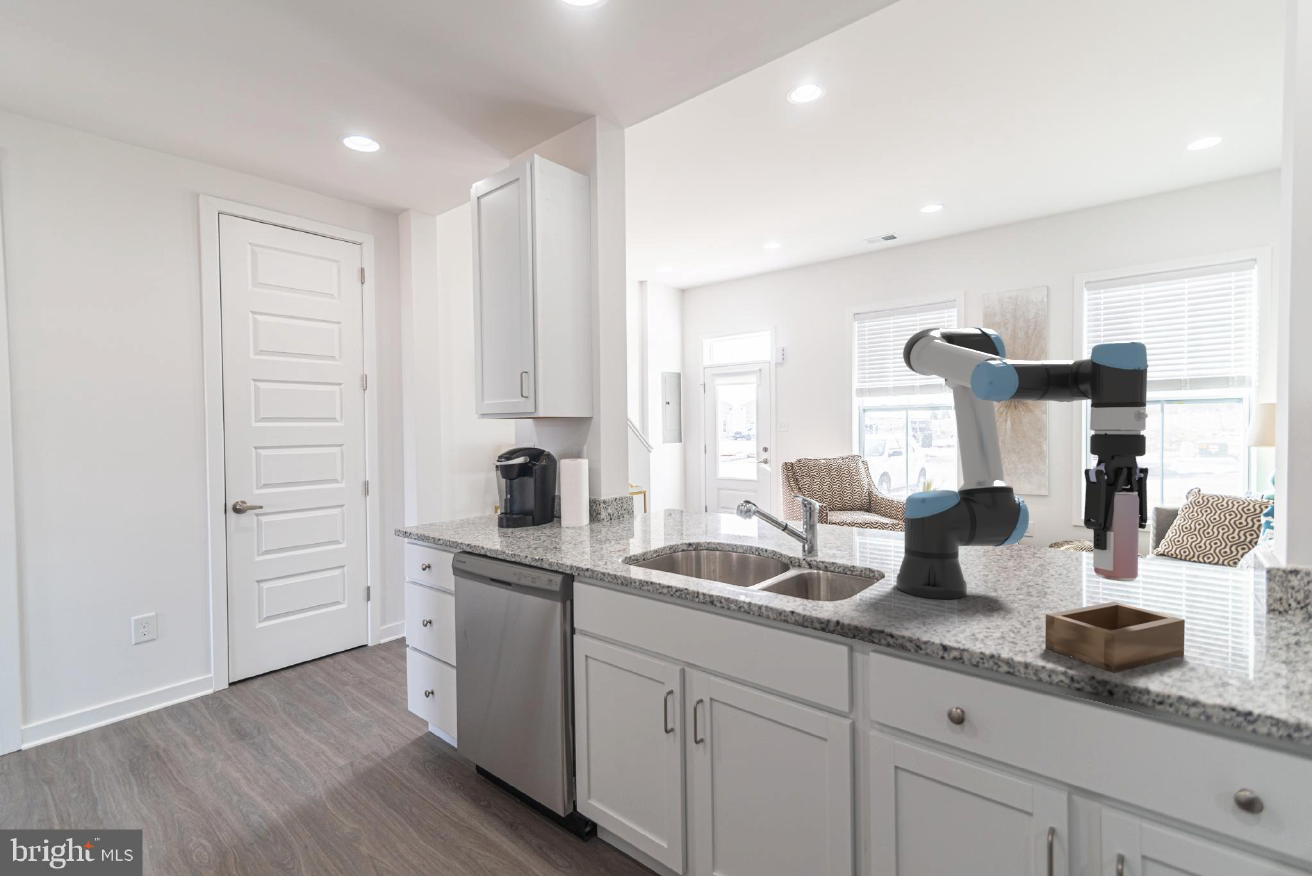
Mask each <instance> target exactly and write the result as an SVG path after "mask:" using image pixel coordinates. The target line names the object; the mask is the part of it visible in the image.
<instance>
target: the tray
mask: <svg viewBox="0 0 1312 876" xmlns="http://www.w3.org/2000/svg"><path fill="white" fill-rule="evenodd" d="M1185 622H1186V620H1185V619H1184V618H1179V617H1175V616H1172V615H1168V614H1164V613H1159V612H1156V611H1153V610H1148V609H1144V608H1141V607H1136V606H1132V605H1129V604H1124V603H1121V602H1118V601H1117V602H1116V601H1110V602H1106V603H1100V604H1095V605H1088V606H1083V607H1082V606H1081V607H1077V608H1072V609H1066V610H1062V611H1056V612H1050V613H1047V614H1046V613H1045V638H1044V639H1045V640H1044V641H1045V642H1044V643H1045V644H1044V645H1045V646H1044V647H1045V649H1047V650H1049V649H1051V650H1050V651H1052V650H1053V652H1055V651H1057V652H1056V653H1059V654H1061V653H1062V654H1061V655H1064V656H1066V655H1068V656H1067V657H1069V656H1072V657H1073V659H1075V658H1077V659H1076V660H1078V659H1079V661H1080V660H1083V661H1084V663H1086V662H1087V663H1086V664H1089V665H1091V666H1094V665H1095V667H1097V668H1099V669H1102V670H1106V671H1108V672H1111V673H1117V672H1121V671H1125V670H1129V669H1133V668H1137V667H1140V666H1141V667H1142V666H1145V665H1149V664H1152V662H1153V663H1156V662H1161V661H1164V660H1168V658H1169V659H1171V658H1176V657H1180V656H1183V655H1185V627H1186V626H1185V625H1186V623H1185ZM1072 657H1071V658H1072ZM1160 660H1161V661H1160ZM1083 661H1082V662H1083Z"/></svg>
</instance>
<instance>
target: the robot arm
mask: <svg viewBox="0 0 1312 876" xmlns="http://www.w3.org/2000/svg"><path fill="white" fill-rule="evenodd" d="M1147 354H1148V353H1147V346H1146V345H1145V343H1143V342H1140V341H1134V340H1133V341H1132V340H1131V341H1130V340H1129V341H1111V342H1103V343H1099V344H1096V345H1094V346H1093V347H1092V348H1091V354H1090V358H1087V359H1078V360H1077V359H1075V360H1014V359H1008V358H1006V357H1007V353H1006V345H1005V343H1004V340H1003V339H1002V337H1001V335H999V334H998V333H997V332H996V331H994V330H993V329H990V328H980V327H975V326H974V327H969V328H968V327H962V328H960V327H958V328H957V327H955V328H954V327H946V328H945V327H942V328H939V327H933V328H927V329H922V330H920V331H918V332H916V333H915V334H913V335H912V336H911V337H909V339H908V340H907V341H906V342H905V345H904V347H903V350H902V357H903V362H904V364H905V365H906V367H907V368H908V369H909V370H911V371H912V372H914V373H916V374H918V375H922V376H926V377H930V376H937V377H940V378H942V379H944V384H945V386H947V387H948V388H950V389H951V390H952V395H953V405H954V413H955V421H956V431H957V436H958V437H957V438H958V445H959V452H960V453H959V454H960V455H959V456H960V461H961V469H962V472H961V473H962V479H963V484H962V485H961V486H960V488H958V490H957V491H956V490H949V489H945V490H944V489H943V490H942V489H940V490H938V489H936V490H925V491H919V492H915V493H912V494H910V495H908V496H907V497H906V499H905V502H904V503H905V504H904V512H903V516H904V552H903V553H904V555H903V558H902V562H901V565H900V567H899V573H897V575H896V580H895V581H896V582H895V583H896V584H895V585H896V588H897V590H899V591H900V592H901V591H902V592H904V593H905V594H909V595H912V596H916V597H921V598H922V597H923V598H929V599H936V600H937V599H938V600H939V599H940V600H942V599H943V600H952V599H954V600H955V599H960V598H964V597H966V596H967V595H968V590H967V589H968V588H967V587H968V586H967V582H966V581H965V579H964V575H963V574H964V573H963V569H962V567H961V563H960V561H959V552H960V549H959V547H996V548H997V547H1002V546H1003V547H1004V546H1013V545H1016V544H1018V543H1019V542H1021V541H1022V539H1023V538H1024V536H1025V535H1026V533H1027V531H1028V528H1029V524H1030V512H1029V508H1028V506H1027V504H1026V503H1025V500H1024V499H1023V498H1021V497H1019V496H1017V495H1015V493H1014V487H1013V486H1012V485H1011V484H1010V483H1008V482H1007V481H1005V475H1004V469H1003V461H1002V460H1003V459H1002V452H1001V446H1000V438H999V430H998V423H997V417H996V410H995V409H996V408H995V402H1003V401H1004V402H1010V401H1011V402H1012V401H1013V402H1014V401H1015V402H1016V401H1018V402H1019V401H1022V402H1023V401H1024V402H1025V401H1031V402H1032V401H1035V402H1036V401H1037V402H1039V401H1043V402H1044V401H1045V402H1047V401H1048V402H1049V401H1051V402H1059V403H1062V402H1066V403H1071V402H1075V401H1087V400H1088V401H1089V400H1090V421H1089V422H1090V423H1089V429H1090V431H1093V433H1092V434H1091V435H1090V441H1089V453H1090V455H1092V456H1097V462H1096V465H1095V467H1094V468H1086V469H1085V470H1084V480H1085V495H1084V496H1085V498H1084V516H1083V525H1084V526H1085V528H1086V529H1087V530H1093V557H1092V558H1093V559H1092V560H1093V562H1092V563H1093V564H1092V566H1093V568H1094V567H1096V568H1100V569H1105V570H1110V571H1111V570H1113V552H1114V532H1112V531H1110V527H1111V523H1112V518H1113V513H1114V497H1115V493H1116V492H1121V491H1126V492H1133V491H1136V492H1138V494H1137V495H1138V497H1139V529H1141V530H1145V529H1146V528H1147V523H1148V493H1147V492H1148V487H1147V485H1148V484H1147V480H1148V474H1149V468H1148V467H1144V466H1143V467H1142V466H1141V467H1140V466H1138V462H1137V457H1143V456H1145V455H1146V451H1147V449H1146V448H1147V447H1146V443H1147V442H1146V441H1147V436H1146V435H1145V434H1142V432H1144V431H1145V430H1146V429H1147V428H1146V427H1147V426H1146V422H1147V421H1146V420H1147V418H1148V417H1149V416H1148V415H1149V414H1148V413H1147V410H1146V409H1147V387H1148V384H1147V383H1148V368H1149V364H1148V355H1147Z"/></svg>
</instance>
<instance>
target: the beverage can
mask: <svg viewBox="0 0 1312 876" xmlns="http://www.w3.org/2000/svg"><path fill="white" fill-rule="evenodd" d="M1137 494H1138V492H1136V491H1133V492H1126V491H1121V492H1116V493H1115V497H1114V513H1113V518H1112V523H1111V527H1110V531H1112V532H1114V552H1113V570H1111V571H1110V570H1105V569H1100V568H1096V567H1093V571H1094V573H1095V575H1096V576H1097V577H1098V578H1101V579H1106V580H1111V581H1119V582H1134V581H1135V580H1136V579H1137V578H1138V576H1139V529H1140V528H1139V497H1138V495H1137Z"/></svg>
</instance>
